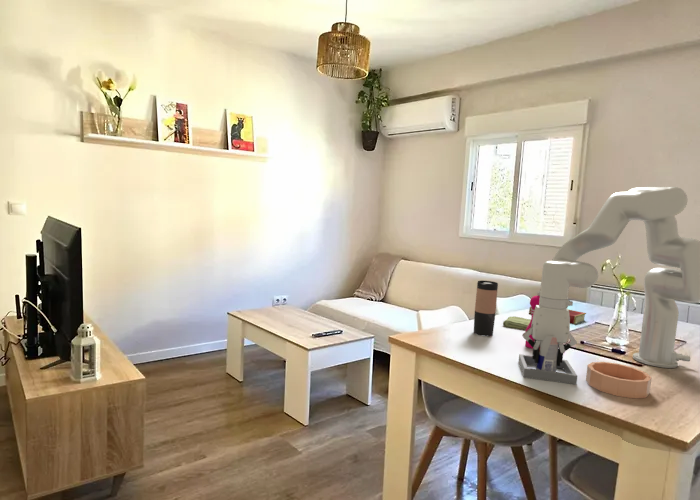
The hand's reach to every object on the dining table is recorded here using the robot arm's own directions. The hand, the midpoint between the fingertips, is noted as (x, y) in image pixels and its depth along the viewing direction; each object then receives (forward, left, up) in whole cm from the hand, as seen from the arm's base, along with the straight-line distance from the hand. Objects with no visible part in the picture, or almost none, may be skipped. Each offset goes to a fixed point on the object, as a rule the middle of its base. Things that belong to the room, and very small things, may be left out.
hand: (546, 362), depth 137 cm
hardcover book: (-17, -84, -4) cm, 86 cm away
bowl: (-18, +4, -3) cm, 19 cm away
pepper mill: (0, -27, -3) cm, 27 cm away
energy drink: (0, 0, -3) cm, 3 cm away
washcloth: (-1, -57, -4) cm, 57 cm away
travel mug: (+17, -37, -3) cm, 41 cm away
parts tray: (0, 0, -3) cm, 3 cm away
